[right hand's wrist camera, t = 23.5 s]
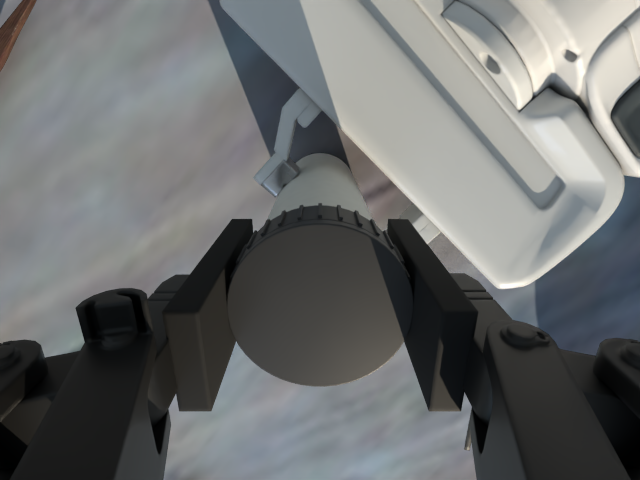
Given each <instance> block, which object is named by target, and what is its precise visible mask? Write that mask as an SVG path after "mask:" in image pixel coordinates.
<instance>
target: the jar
mask: <svg viewBox="0 0 640 480" xmlns="http://www.w3.org/2000/svg"><path fill="white" fill-rule="evenodd" d="M295 164H296V165H298V166H299V167H300V169H299V172H298V174H297V175H296V176H295V177H294V178H293V180H292V181H290V182H289V183H288V184H285V185H284V188H283V189H282V191H281V192H280V193H279V195H278V197H277V199H276V202H275V204H274V206H273V208H272V210H271V213H270V215H269V217H268V219H270V220H272V219H274V218H275V217H277V216H279V215H281V213H282V211H284V210H285V211H286V212H288V211H290V210H293V209H297V208H299V206H300V205H303V206H304V207H306V206H314V205H318V203H322V205H326V206H334V207H337V205H341V208H343V209H347V210H350V211H353V212H354V211H355V210H357V211H358V212H359V214H360V215H361V216H363V217H365V218H367V219H368V220H371V219H372V216H371V214H370V212H369V210H368V208H367V205H366V203H365V201H364V199H363V197H362V194H361V192H360V190H359V188H358V186H357V183H356V181H355V179H354V177H353V175H352V173H351V171H350V169H349V168H348V166H347V165H346V164H345V163H344V162H343V161H342V160H340V159H339V158H337V157H335V156H333V155H330V154H325V153H315V154H310V155H308V156H305V157H303V158H301V159H300V160H299V161H297V162H296V163H295ZM268 219H267V220H268Z"/></svg>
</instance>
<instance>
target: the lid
mask: <svg viewBox="0 0 640 480" xmlns="http://www.w3.org/2000/svg"><path fill="white" fill-rule="evenodd" d="M404 263H405V262H404V260H403V258H402V256H401V254H400V253H399V251H398V249H397V247H396V245H395V244H394V245H393V244H392V242H391V240H390V238H389V236H388V234H387V232H386V231H385V230H384V231H383V232H382V231H381V230H380V229H379V228H378V227H377V226H376V224H375V222H374V220H373V219H371V220H368V219H367V218H365V217H363V216H361V215H360V214H359V212H358V211H357V210H355V211H354V212H353V211H350V210H347V209H343V208H341V205H337V207H334V206H326V205H322V203H318V205H314V206H306V207H304V206H303V205H300V206H299V208H297V209H293V210H290V211H288V212H286V211H285V210H284V211H282V213H281V215H279V216H277V217H275V218H274V219H272V220H270V219H268V220H266V223H265V225H264V226H263V227H262V228H261V229H260V230H259V231H258V232H257V231H256V230H255V231H254V233H253V235H252V237H251V239H250V240H249V242H248V244H245V246H244V248H243V250H242V251H241V253H240V255H239V257H238V259H237V261H236V266H235V268H234V270H233V272H232V274H231V276H230V278H229V280H231V281H230V284H229V288H228V292H227V312H228V321H229V325H230V328H231V331H232V333H233V336H234V338H235V340H236V341H237V343H238V345H239V346H240V348H241V349H242V350H243V352H244V353H245V354H246V355H247V356H248V357H249V358H250V359H251V360H252V361H253V362H254V363H255V364H256V365H258V366H259V367H260V368H261V369H263V370H265V371H266V372H268V373H270V374H271V375H273V376H275V377H278V378H280V379H282V380H285V381H288V382H291V383H295V384H300V385H306V386H335V385H340V384H345V383H349V382H352V381H355V380H358V379H360V378H363V377H365V376H367V375H369V374H371V373H372V372H374V371H376V370H377V369H379V368H380V367H381V366H383V365H384V364H385V363H387V362H388V361H389V360H390V359H391V358H392V357H393V356H394V355H395V353H396V352H397V351H398V350H399V348H400V347H401V345H402V344H403V342H404V340H405V339H406V336H407V334H408V332H409V330H410V326H411V323H412V314H413V304H414V296H413V291H412V286H411V283H410V280H411V277H410V275H409V273H408V271H407V269H406V267H405V265H404Z"/></svg>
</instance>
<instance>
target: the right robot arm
mask: <svg viewBox="0 0 640 480" xmlns="http://www.w3.org/2000/svg"><path fill="white" fill-rule="evenodd" d="M387 234H388V236H389V238H390V240H391V242H392V244H393V245H394V244H395V245H396V247H397V249H398V251H399V253H400V254H401V256H402V258H403V260H404V262H405V263H404V265H405V267H406V269H407V271H408V273H409V275H410V277H411V280H410V283H411V286H412V291H413V296H414V304H413V314H412V323H411V326H410V330H409V332H408V334H407V336H406V339H405V340H404V342H405V345H406V348H407V350H408V353H409V356H410V359H411V362H412V365H413V367H414V370H415V373H416V376H417V379H418V382H419V384H420V387H421V390H422V393H423V396H424V399H425V401H426V404H427V407H428V410H429V411H461V408H462V402H463V396H464V392H465V394H466V396H467V398H468V400H469V402H470V404H471V406H472V410H471V415H470V420H469V425H468V431H467V436H466V441H465V448H464V450H469V451H470V446H471V442H472V449H473V456H474V463H475V470H476V477H477V480H640V342H638V341H637V340H632V339H621V338H612V339H605V340H604V341H603V342H601V343H600V345H599V348H598V352H597V355H596V356H593V355H588V354H582V353H577V352H572V351H566V350H562V349H559V348H558V346H557V344H556V343H555V341H554V340H553V339H552V338H551V337H550V336H549V334H547V333H545V332H544V331H542V330H541V329H539V328H537V327H535V326H532V325H530V324H527V323H524V322H519V321H515V320H512V319H511V318H510V317H509V315H508V314H507V313H506V312H505V311H504V310H503V309H502V308H501V306H500V305H499V304H498V303H497V302H496V301H495V300H493V297H492V296H491V295H490V294H489V293H488V292H486V290H485V288H484V287H483V286H482V285H481V284H480V283H479V282H478V281H477V280H475V279H473V278H472V277H470V276H468V275H466V274H465V273H449V272H448V271H447V270H446V268H445V267H444V266H443V264H442V263H441V262H440V260H439V259H438V258H437V256H436V255H435V254H434V253H433V251H432V250H431V249H430V247H429V246H428V245H427V243H426V242H425V241H424V239H423V238H422V237H421V235H420V234H419V233H418V231H417V230H416V229H415V228H414V226H413V225H412V224H411V222H410V221H409V220H408V219H388V229H387ZM252 235H253V225H252V219H232V220H231V221H230V223H229V224H228V225H227V227H226V228H225V229H224V230H223V232H222V233H221V234H220V236H219V237H218V238H217V240H216V241H215V242H214V244H213V245H212V246H211V248H210V249H209V250H208V252H207V253H206V254H205V255H204V257H203V258H202V259H201V261H200V262H199V263H198V265H197V266H196V267H195V269H194V270H193V271H192V273H191V274H190V275H175V276H173V277H171V278H169V279H168V280H166V281H164V282H162V283H161V285H160V286H159V287H158V288H157V289H156V290H155V291H154V293H153V294H152V295H151V296H150V297H149V298H148V299H147V294H146V293H145V292H143V291H142V290H139V289H133V288H122V289H115V290H109V291H105V292H102V293H99V294H96V295H93V296H92V297H90V298H88V299H86V300H84V301H82V302H81V303H80V304H79V305H78V306H77V307H76V311H77V315H78V319H79V322H80V326H81V330H82V333H83V337H84V341H85V343H84V345H83V347H82V349H81V351H77V352H72V353H67V354H62V355H56V356H51V357H46V358H45V357H44V354H43V351H42V347H41V345H40V344H39V343H37V342H36V341H31V340H18V341H8V342H3V344H1V343H0V480H163V478H164V471H165V464H166V457H167V449H168V442H169V435H170V428H171V422H170V415H169V410H168V408H169V406H170V404H171V402H172V400H173V398H174V396H175V394H176V395H177V401H178V406H179V411H212V408H213V405H214V402H215V399H216V396H217V394H218V391H219V388H220V385H221V382H222V379H223V377H224V374H225V371H226V368H227V365H228V362H229V360H230V357H231V354H232V351H233V348H234V345H235V343H236V340H235V338H234V336H233V333H232V331H231V328H230V325H229V321H228V312H227V292H228V288H229V284H230V281H231V280H229V278H230V276H231V274H232V272H233V270H234V268H235V266H236V261H237V259H238V257H239V255H240V253H241V251H242V250H243V248H244V246H245V244H248V242H249V240H250V239H251V237H252Z"/></svg>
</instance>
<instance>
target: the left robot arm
mask: <svg viewBox="0 0 640 480" xmlns="http://www.w3.org/2000/svg"><path fill="white" fill-rule="evenodd" d="M219 2H220V5H221V7H222V8H223V9H224V11H225V12H226V13H227V14H228V15H229V16H230V17H231V18H232V19H233V20H234V21H235V22H236V23H237V24H238V25H239V26H240V27H241V28H242V29H243V30H244V31H245V32H246V33H247V34H248V35H249V36H250V37H251V38H252V39H253V40H254V41H255V42H256V43H257V44H258V45H259V47H260V48H261V49H262V50H263V51H264V52H265V53H266V54H267V55H268V56H269V57H270V58H271V59H272V60H274V61H275V62H276V63H277V65H278V66H279V67H280V68H281V69H282V70H283V71H284V72H285V73H286V74H287V75H288V76H289V77H290V78H291V79H292V80H293V81H294V82H295V83H296V84H297V85H298V86H299V87H300V88H299V89H298V90H297V91H296V92H295V93H294V94H293V96H292V97H291V98H290V99H289V100H288V101H287V103H286V104H285V105H284V106H283V107H282V111H281V116H280V121H279V126H278V131H277V137H276V142H275V147H274V151H275V154H274V155H273V156H272V157H271V158H270V159H269V160H268V161H267V162H266V164H265V165H264V166H263V167H262V168H261V169H260V170H259V171H258V172H257V174H256V175H255V176H254V177H253V179H254V180H255V181H257V182H258V183H259V184H260V185H261V186H262V187H263V188H265V189H266V190H267V191H268V192H269V193H270V194H272V195H273V196H274V197H276V196H277V195H278V194H279V193H280V192H281V191H282V189H283V188H284V185H285V184H288V183H289V182H290V181H292V180H293V178H294V177H295V176H296V175H297V174H298V172H299V169H300V167H299V166H298V165H296V164H295V163H294V162H293V161H292V160H291V159H290V158H289V154H290V150H291V146H292V141H293V137H294V132H295V128H296V123H297V122H298V123H299V124H300V125H301V126H302V127H303V128H305V127H307V126H308V125H309V124H310V123H311V122H312V121H313V120H314V119H315V118H316V117H317V116H318V114H319V113H320V112H321V111H322V110H323V111H324V112H325V113H326V114H327V116H328V117H329V118H330V119H331V120H332V121H333V122H334V123H335V124H336V125H337V126H338V127H339V128H340V129H341V130H342V131H343V132H344V133H345V134H346V135H347V136H348V137H349V138H350V139H351V140H352V141H353V142H354V143H355V144H356V145H357V146H358V147H359V148H360V149H361V150H362V151H363V152H364V153H365V154H366V155H367V156H368V157H369V158H370V159H371V160H372V161H373V162H374V163H375V164H376V165H377V167H378V168H379V169H380V170H381V171H382V172H383V173H384V174H385V175H386V176H387V177H388V178H389V179H390V180H391V181H392V182H393V183H394V184H395V185H396V186H397V187H398V188H399V189H400V190H401V191H402V192H403V193H404V194H405V195H406V196H407V197H408V198H409V199H410V200H411V201H412V202H413V204H412V205H411V206H410V207H408V208H407V209H406V210H405V211H404V212H403V213H402V214H401V215H400V217H399V219H408V220H409V221H410V222H411V224H412V225H413V226H414V228H415V229H416V230H417V231H418V233H419V234H420V235H421V237H422V238H423V239H424V241H425V242H426V243H427V244H428V243H429V242H430V241H431V240H433V239H434V238H435V237H436V236H437V235H438V234H439V233H441V232H442V233H443V234H444V235H445V236H446V237H447V238H448V239H449V240H450V241H451V242H452V243H453V244H454V245H455V246H456V247H457V248H458V249H459V250H460V251H461V253H462V254H463V255H464V256H465V257H466V258H467V259H468V260H469V261H470V262H471V263H472V264H473V265H474V266H475V267H476V268H477V269H478V270H479V271H480V272H481V273H482V274H483V275H484V276H485V277H486V278H487V279H488V280H489V281H490V282H491V283H492V284H493V285H494V286H495V287H497V288H498V289H508V288H516V287H523V286H526V285H528V284H530V283H532V282H533V281H535V280H537V279H538V278H539V277H541V276H542V275H544V274H545V273H546V272H548V271H549V270H550V269H552V268H553V267H554V266H555V265H557V264H558V263H559V262H560V261H562V260H563V259H564V258H565V257H567V256H568V255H569V254H570V253H571V252H573V251H574V250H575V249H576V248H577V247H579V246H580V245H581V244H582V243H583V242H584V241H586V240H587V239H588V238H589V237H590V236H591V235H592V234H593V233H594V232H596V231H597V230H598V229H599V228H600V227H601V226H602V225H603V224H604V223H605V222H606V221H607V220H608V219H609V217H610V216H611V215H612V214H613V212H614V211H615V210H616V208H617V207H618V205H619V203H620V201H621V199H622V196H623V192H624V186H625V181H624V175H626V176H633V177H640V0H219ZM385 231H386V232H387V230H385ZM382 232H383V231H382Z"/></svg>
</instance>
